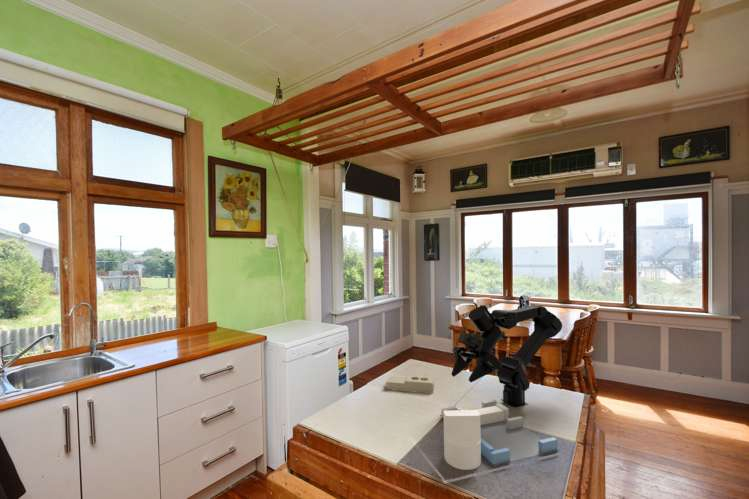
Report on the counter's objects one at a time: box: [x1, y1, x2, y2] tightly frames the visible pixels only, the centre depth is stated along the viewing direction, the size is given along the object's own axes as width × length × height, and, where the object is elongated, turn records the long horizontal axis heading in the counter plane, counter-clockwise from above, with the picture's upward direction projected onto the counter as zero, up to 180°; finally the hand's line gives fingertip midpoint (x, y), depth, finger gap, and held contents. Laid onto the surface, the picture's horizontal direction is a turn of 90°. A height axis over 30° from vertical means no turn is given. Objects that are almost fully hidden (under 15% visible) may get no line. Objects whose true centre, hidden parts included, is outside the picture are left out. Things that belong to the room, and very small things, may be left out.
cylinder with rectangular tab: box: [443, 409, 482, 471], centre depth 83 cm, size 9×9×12 cm
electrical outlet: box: [385, 374, 435, 394], centre depth 130 cm, size 7×4×18 cm
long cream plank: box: [474, 403, 510, 425], centre depth 102 cm, size 16×4×3 cm, turn 107°
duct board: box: [439, 399, 559, 467], centre depth 96 cm, size 20×27×4 cm
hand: (460, 378), depth 104 cm, fingers open, 9 cm apart
